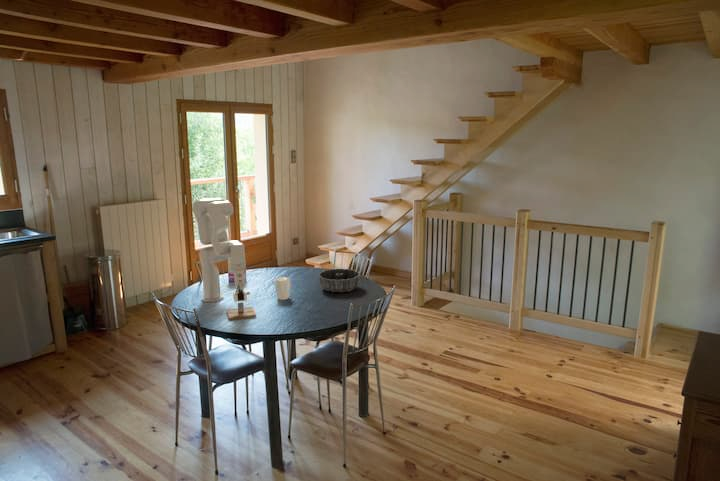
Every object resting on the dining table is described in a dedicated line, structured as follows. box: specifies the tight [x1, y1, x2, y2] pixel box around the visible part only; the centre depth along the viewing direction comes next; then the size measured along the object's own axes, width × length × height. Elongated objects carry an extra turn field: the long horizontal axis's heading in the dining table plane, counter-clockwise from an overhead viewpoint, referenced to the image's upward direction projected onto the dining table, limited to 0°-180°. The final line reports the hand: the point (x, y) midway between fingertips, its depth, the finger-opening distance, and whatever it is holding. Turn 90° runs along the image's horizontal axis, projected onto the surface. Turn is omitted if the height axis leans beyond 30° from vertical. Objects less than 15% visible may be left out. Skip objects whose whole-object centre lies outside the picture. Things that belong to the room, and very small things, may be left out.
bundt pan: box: [317, 268, 361, 293], centre depth 315 cm, size 26×26×10 cm
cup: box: [274, 276, 291, 301], centre depth 297 cm, size 9×9×12 cm
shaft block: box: [226, 301, 257, 321], centre depth 269 cm, size 14×14×6 cm
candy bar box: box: [226, 257, 247, 284], centre depth 332 cm, size 11×5×16 cm, turn 73°
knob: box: [232, 289, 251, 303], centre depth 268 cm, size 8×6×4 cm
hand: (240, 298), depth 268 cm, fingers closed on knob, 6 cm apart
